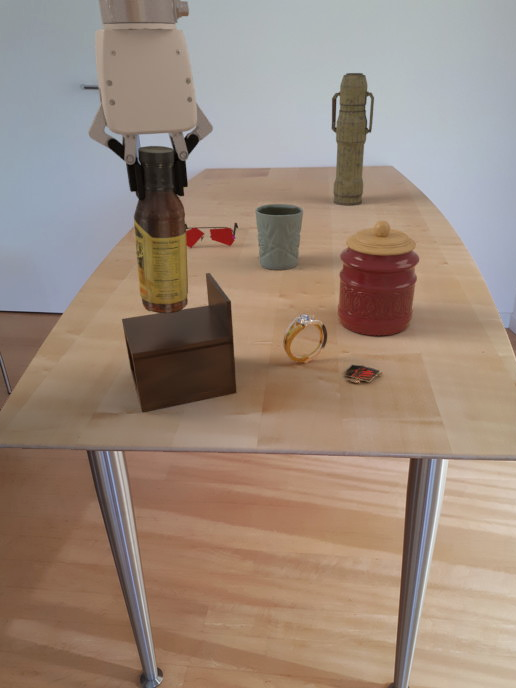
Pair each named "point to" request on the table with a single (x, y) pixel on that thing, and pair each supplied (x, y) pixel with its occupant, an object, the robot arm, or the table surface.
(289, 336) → the ring
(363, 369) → the matchbox
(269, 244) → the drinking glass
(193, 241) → the glasses
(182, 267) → the sauce bottle
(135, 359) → the shelf
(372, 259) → the kitchen canister
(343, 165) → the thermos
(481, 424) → the table surface
